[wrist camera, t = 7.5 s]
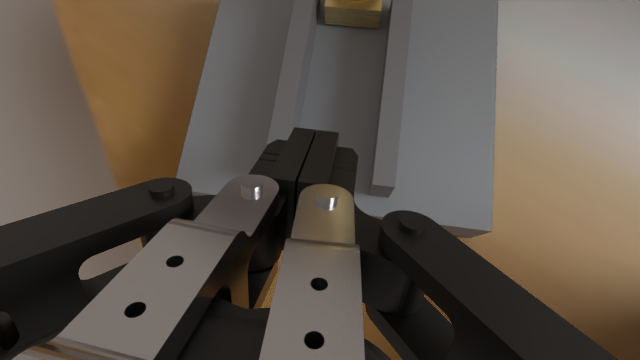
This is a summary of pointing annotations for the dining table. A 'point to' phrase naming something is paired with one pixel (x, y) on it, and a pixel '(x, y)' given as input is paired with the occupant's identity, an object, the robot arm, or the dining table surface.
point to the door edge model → (357, 101)
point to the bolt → (353, 13)
